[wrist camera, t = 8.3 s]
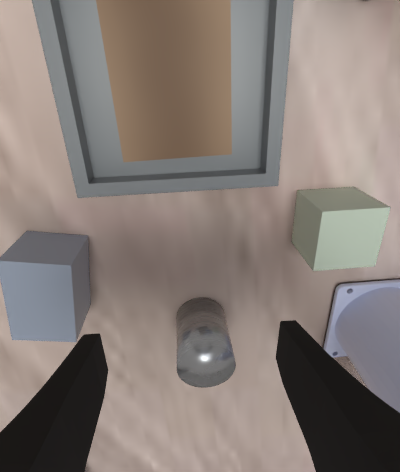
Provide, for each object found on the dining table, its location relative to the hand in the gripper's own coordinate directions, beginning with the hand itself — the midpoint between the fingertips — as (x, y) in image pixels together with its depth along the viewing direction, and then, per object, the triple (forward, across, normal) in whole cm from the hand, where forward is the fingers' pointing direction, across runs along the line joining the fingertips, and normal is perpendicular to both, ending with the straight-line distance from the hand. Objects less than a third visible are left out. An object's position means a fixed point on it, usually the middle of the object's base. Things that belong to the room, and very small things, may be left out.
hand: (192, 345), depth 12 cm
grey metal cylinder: (+10, -1, +8) cm, 13 cm away
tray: (+10, 0, -10) cm, 14 cm away
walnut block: (+10, 0, -9) cm, 14 cm away
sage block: (+10, -10, -1) cm, 14 cm away
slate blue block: (+10, +9, +2) cm, 14 cm away
